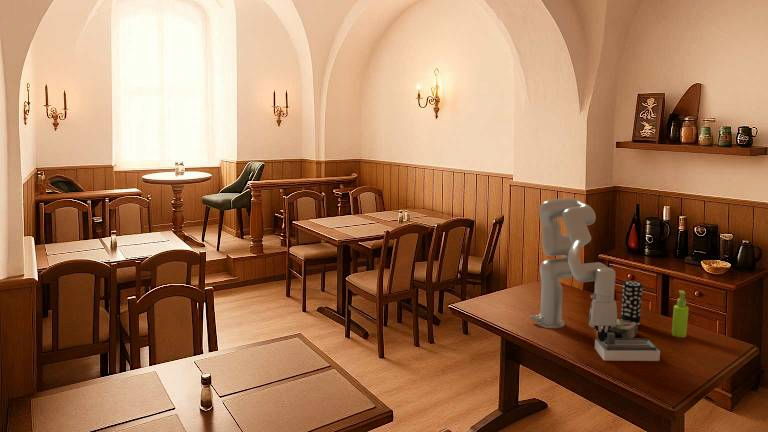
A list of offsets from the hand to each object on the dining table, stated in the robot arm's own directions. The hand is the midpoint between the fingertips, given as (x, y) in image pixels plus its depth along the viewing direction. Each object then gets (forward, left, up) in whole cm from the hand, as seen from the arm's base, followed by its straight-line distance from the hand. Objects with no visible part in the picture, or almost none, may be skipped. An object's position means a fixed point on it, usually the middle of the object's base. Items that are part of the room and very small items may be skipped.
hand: (601, 340), depth 238 cm
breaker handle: (+4, 0, -2) cm, 4 cm away
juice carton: (+14, +18, -7) cm, 24 cm away
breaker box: (+10, 0, -6) cm, 12 cm away
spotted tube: (+24, +34, -6) cm, 42 cm away
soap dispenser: (+41, +22, -6) cm, 47 cm away
